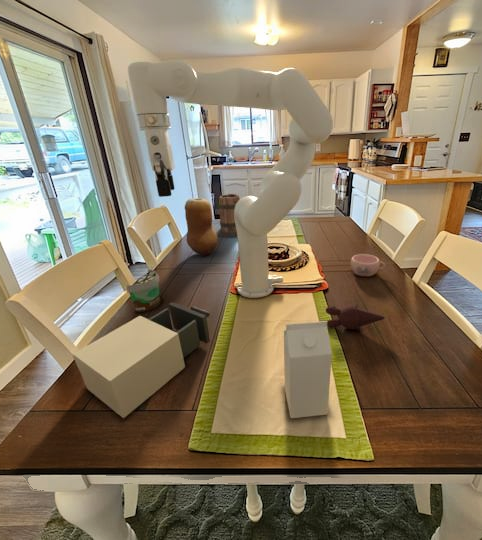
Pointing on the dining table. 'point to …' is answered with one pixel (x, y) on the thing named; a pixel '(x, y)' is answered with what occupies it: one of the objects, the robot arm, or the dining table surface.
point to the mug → (365, 264)
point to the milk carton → (307, 368)
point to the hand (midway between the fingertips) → (167, 192)
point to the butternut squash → (200, 226)
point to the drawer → (185, 325)
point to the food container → (145, 292)
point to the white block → (130, 363)
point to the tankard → (227, 215)
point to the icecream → (351, 317)
